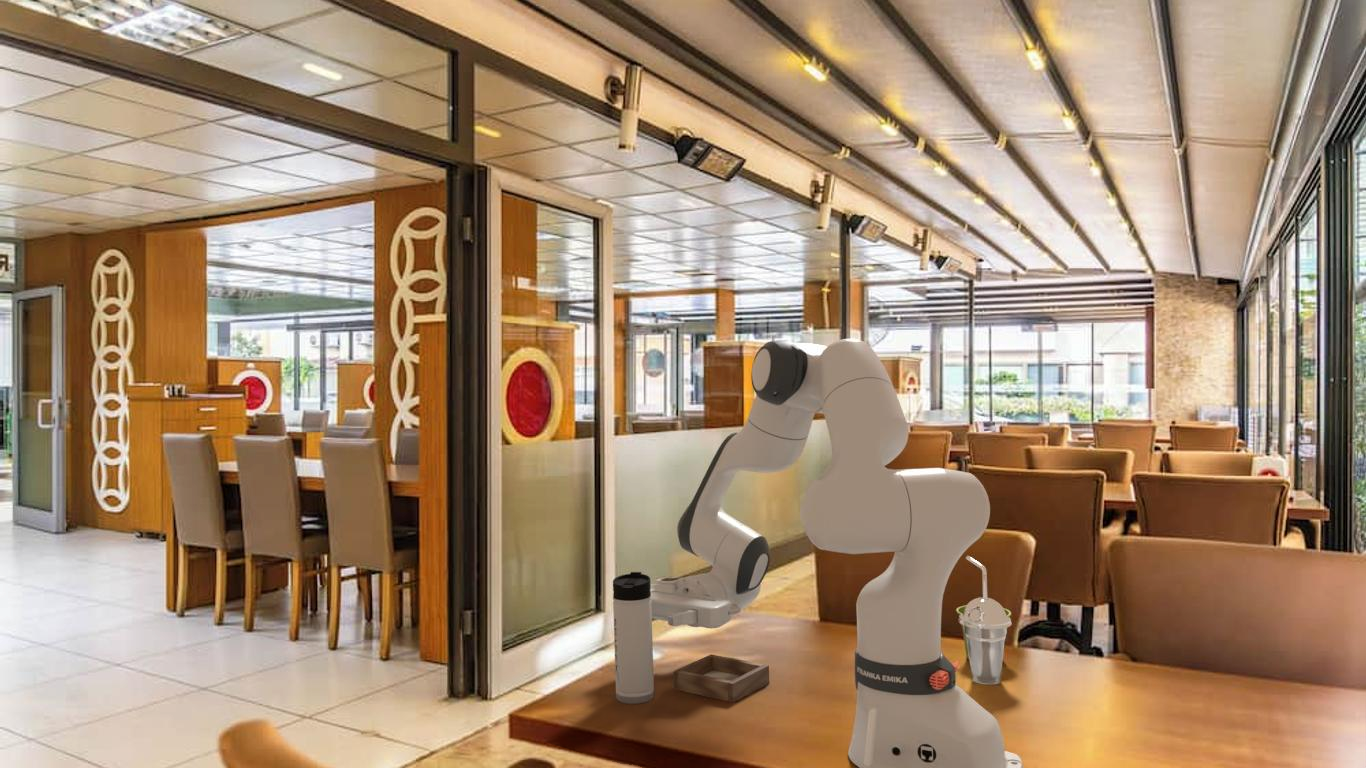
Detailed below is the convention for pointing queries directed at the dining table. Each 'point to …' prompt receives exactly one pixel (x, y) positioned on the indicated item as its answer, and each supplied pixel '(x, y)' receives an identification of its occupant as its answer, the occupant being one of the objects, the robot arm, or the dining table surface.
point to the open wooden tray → (721, 677)
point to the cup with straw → (985, 634)
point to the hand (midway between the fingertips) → (649, 617)
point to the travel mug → (633, 638)
